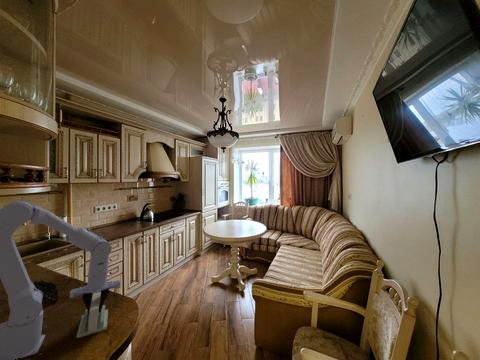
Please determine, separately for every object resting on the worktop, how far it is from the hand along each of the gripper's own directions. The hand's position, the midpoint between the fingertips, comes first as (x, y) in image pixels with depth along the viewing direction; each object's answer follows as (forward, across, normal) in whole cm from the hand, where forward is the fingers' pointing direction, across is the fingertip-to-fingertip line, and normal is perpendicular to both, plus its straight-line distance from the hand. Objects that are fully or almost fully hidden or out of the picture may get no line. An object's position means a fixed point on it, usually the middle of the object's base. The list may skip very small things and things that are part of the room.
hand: (94, 312), depth 68 cm
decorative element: (+4, -20, +32) cm, 38 cm away
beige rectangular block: (+3, 0, 0) cm, 3 cm away
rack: (+4, 0, 0) cm, 4 cm away
